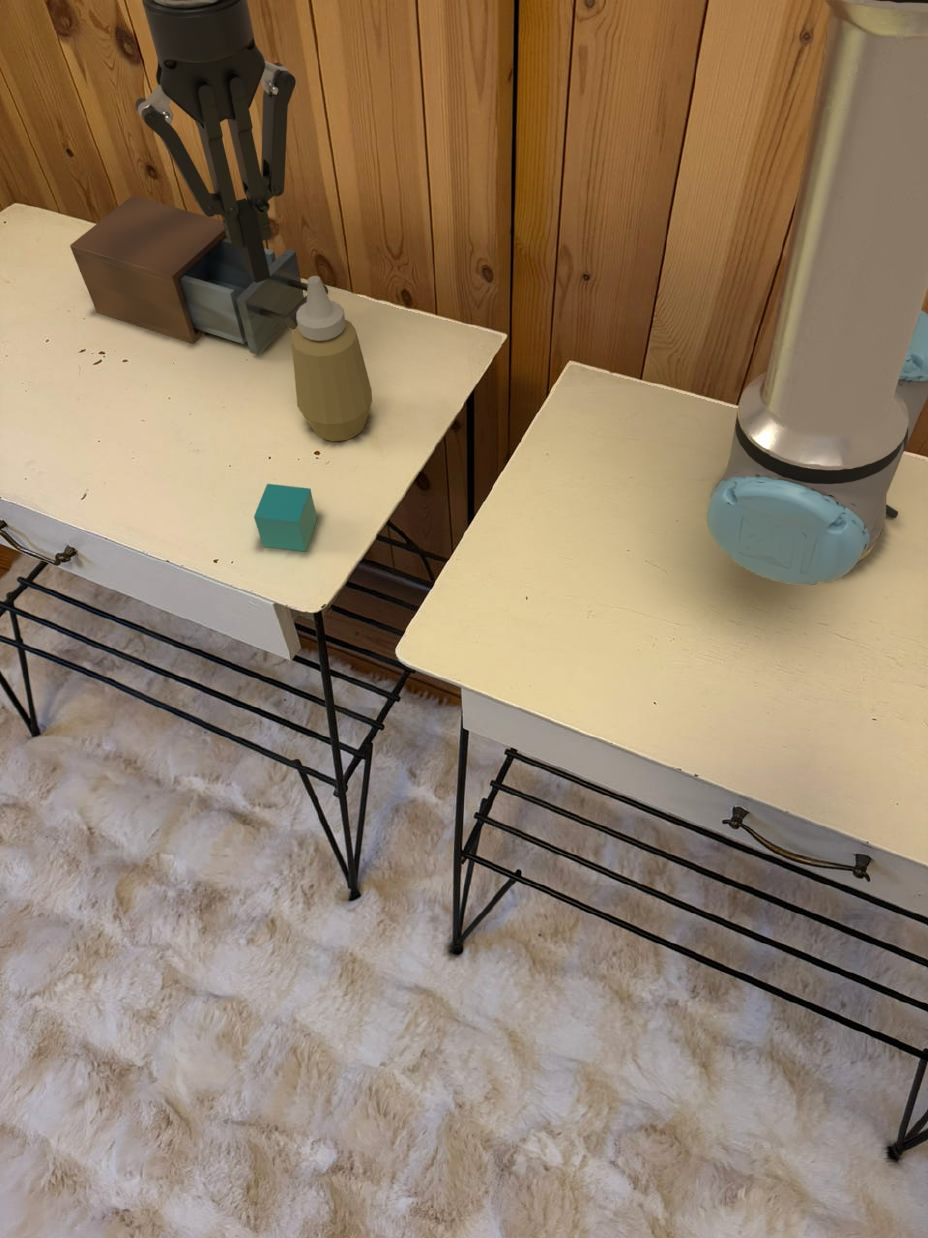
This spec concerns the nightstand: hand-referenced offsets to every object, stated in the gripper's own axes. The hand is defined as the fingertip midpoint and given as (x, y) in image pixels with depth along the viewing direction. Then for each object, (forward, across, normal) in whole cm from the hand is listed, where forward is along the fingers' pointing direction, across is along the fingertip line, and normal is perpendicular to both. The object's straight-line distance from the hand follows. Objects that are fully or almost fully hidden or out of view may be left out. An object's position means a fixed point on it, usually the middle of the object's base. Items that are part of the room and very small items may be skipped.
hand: (257, 272), depth 86 cm
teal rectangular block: (+18, +6, +15) cm, 25 cm away
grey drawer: (+18, -2, -18) cm, 25 cm away
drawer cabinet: (+18, +5, -28) cm, 33 cm away
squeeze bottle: (+19, -4, +3) cm, 19 cm away
